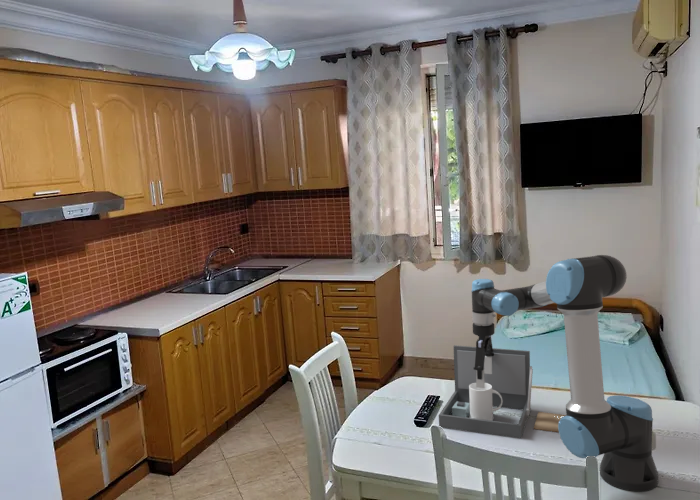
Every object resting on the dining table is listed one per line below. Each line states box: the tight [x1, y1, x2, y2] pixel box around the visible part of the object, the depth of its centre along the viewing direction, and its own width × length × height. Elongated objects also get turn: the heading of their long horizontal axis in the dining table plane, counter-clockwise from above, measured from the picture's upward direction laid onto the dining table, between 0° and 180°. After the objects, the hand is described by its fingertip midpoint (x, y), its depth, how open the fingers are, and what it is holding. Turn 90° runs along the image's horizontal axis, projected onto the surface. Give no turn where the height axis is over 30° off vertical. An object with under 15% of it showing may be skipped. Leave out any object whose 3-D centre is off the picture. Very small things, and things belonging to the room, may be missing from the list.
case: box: [438, 344, 534, 439], centre depth 208 cm, size 24×29×22 cm
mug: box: [468, 383, 503, 421], centre depth 209 cm, size 12×8×12 cm
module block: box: [451, 401, 470, 418], centre depth 213 cm, size 6×5×5 cm
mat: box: [533, 411, 566, 434], centre depth 203 cm, size 14×14×1 cm
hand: (484, 380), depth 208 cm, fingers open, 13 cm apart
